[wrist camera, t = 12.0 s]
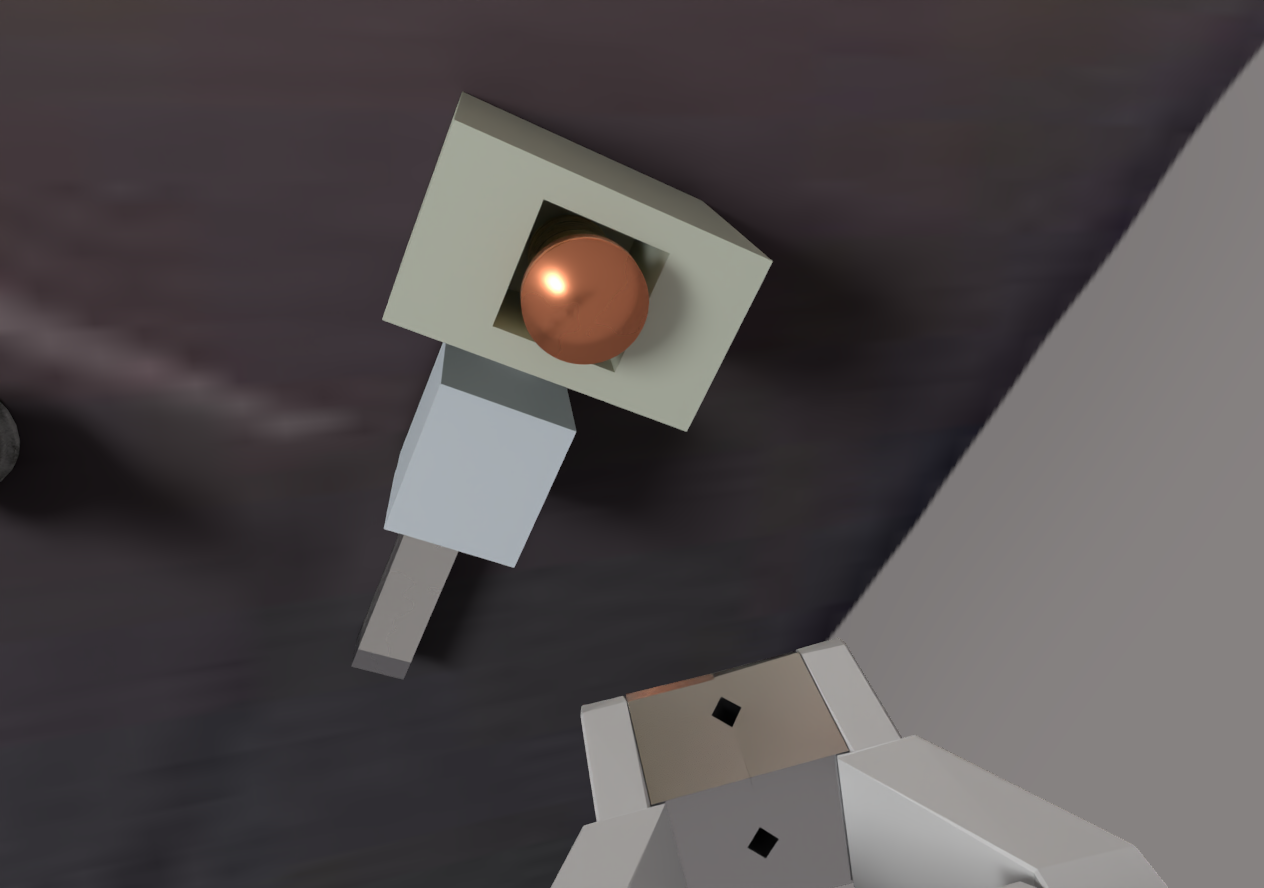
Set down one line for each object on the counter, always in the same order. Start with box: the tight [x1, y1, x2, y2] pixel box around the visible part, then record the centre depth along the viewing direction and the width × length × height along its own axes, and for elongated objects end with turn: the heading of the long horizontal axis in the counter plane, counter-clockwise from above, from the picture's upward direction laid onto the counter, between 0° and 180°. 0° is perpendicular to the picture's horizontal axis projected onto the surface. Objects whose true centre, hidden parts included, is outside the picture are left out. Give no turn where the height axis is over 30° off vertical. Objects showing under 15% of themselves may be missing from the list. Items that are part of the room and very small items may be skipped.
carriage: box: [384, 342, 576, 568], centre depth 35 cm, size 6×5×6 cm
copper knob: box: [520, 215, 649, 365], centre depth 28 cm, size 4×4×6 cm
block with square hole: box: [382, 92, 773, 432], centre depth 31 cm, size 6×10×10 cm, turn 65°
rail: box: [351, 533, 458, 679], centre depth 39 cm, size 18×2×2 cm, turn 155°
